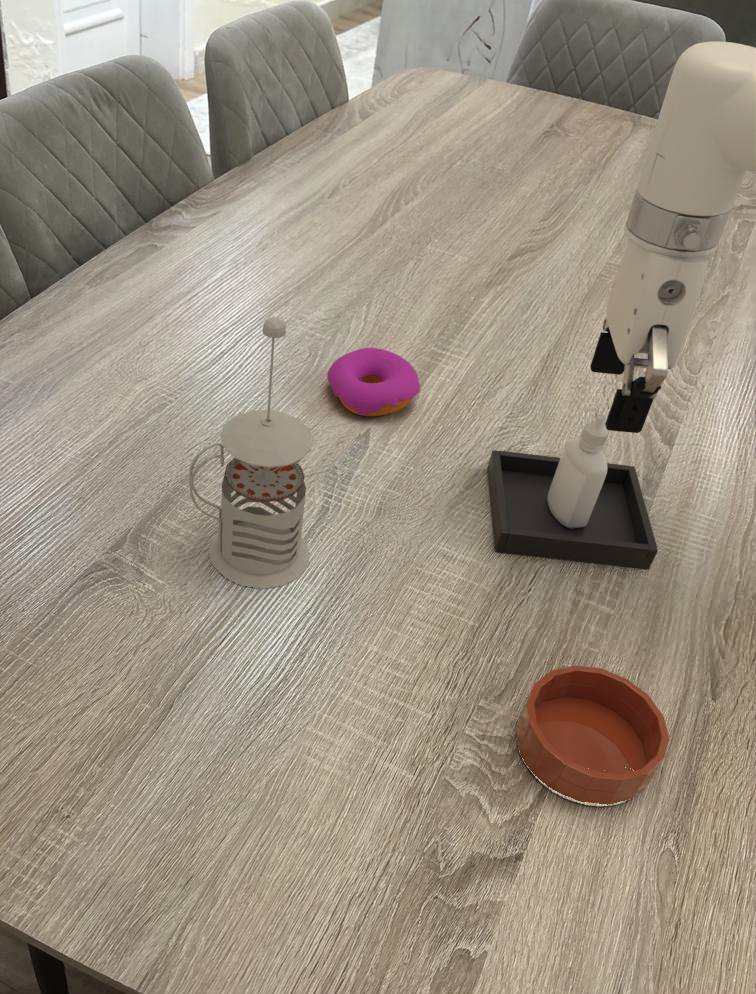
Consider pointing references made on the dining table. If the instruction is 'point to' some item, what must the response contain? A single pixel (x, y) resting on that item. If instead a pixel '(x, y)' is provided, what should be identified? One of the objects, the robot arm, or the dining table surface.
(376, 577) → the dining table surface
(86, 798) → the dining table surface
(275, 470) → the french press
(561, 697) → the bowl
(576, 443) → the eye dropper bottle
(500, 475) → the tray
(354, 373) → the donut
